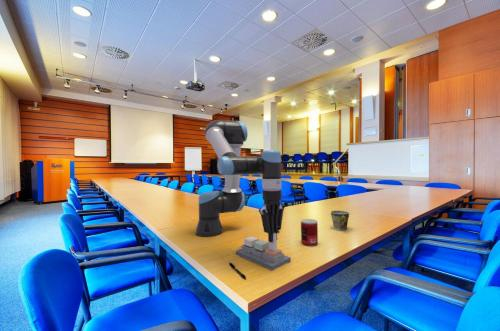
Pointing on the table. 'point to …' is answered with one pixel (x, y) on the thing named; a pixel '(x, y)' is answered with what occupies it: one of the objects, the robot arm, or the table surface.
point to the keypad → (262, 257)
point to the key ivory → (250, 241)
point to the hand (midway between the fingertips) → (273, 249)
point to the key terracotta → (272, 252)
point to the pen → (237, 271)
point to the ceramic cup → (340, 220)
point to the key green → (261, 245)
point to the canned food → (309, 232)
